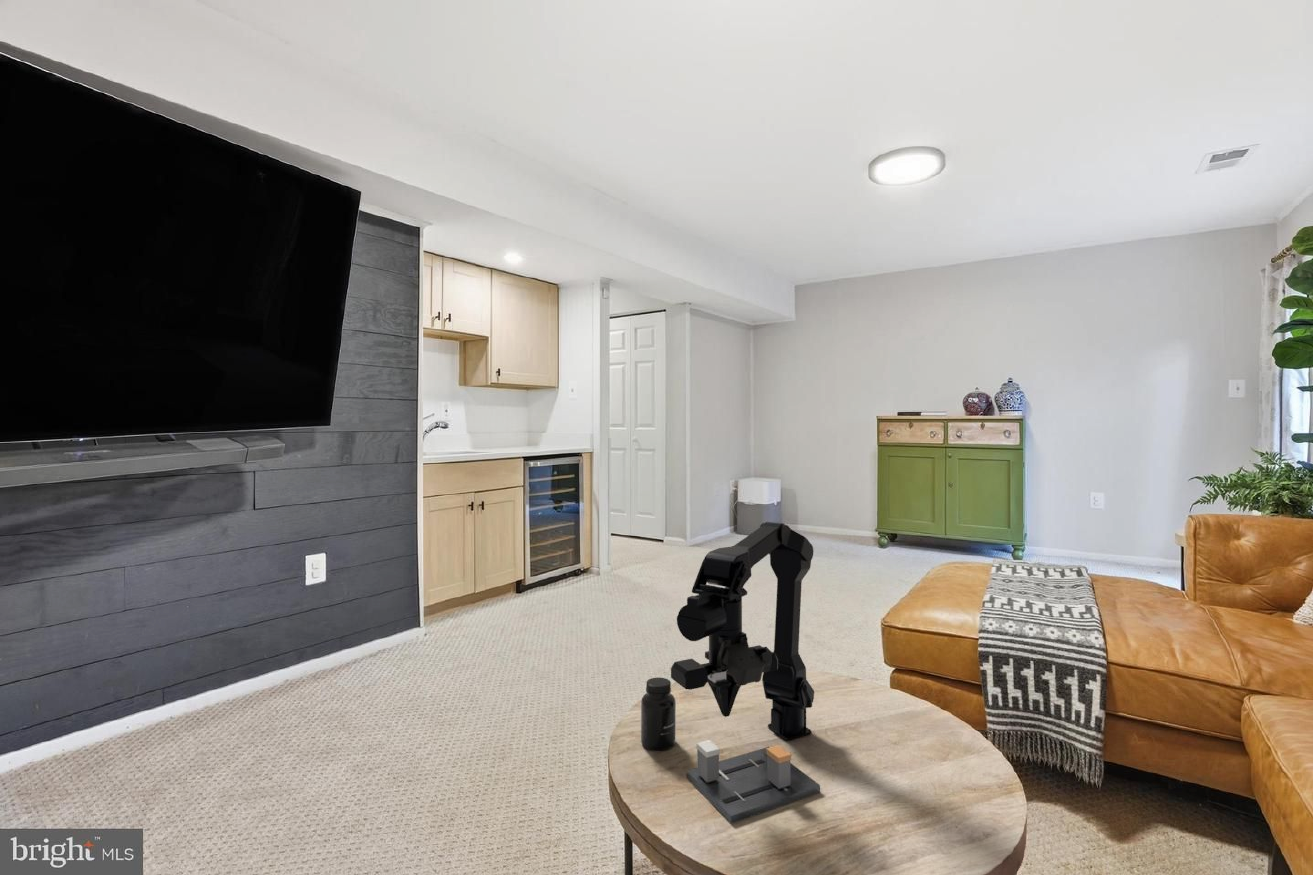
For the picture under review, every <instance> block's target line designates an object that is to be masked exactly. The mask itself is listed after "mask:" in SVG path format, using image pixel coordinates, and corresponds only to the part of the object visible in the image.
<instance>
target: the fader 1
mask: <svg viewBox="0 0 1313 875" xmlns="http://www.w3.org/2000/svg"><path fill="white" fill-rule="evenodd" d="M696 749H697V750H696V751H697V753H696V754H697V757H696V758H697V759H696V760H697V761H696V762H697V767H696V768H697V773H698V774H699V775H700V776H701V777H702V778H703V779H704V780H705V781H706V782H710V781H714V780H717V779H719V761H720V748H719V746H718V745H716V744H715V743H714V742H713V741H712V740H710V739H707V740H703V741H700V742H696Z"/></svg>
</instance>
